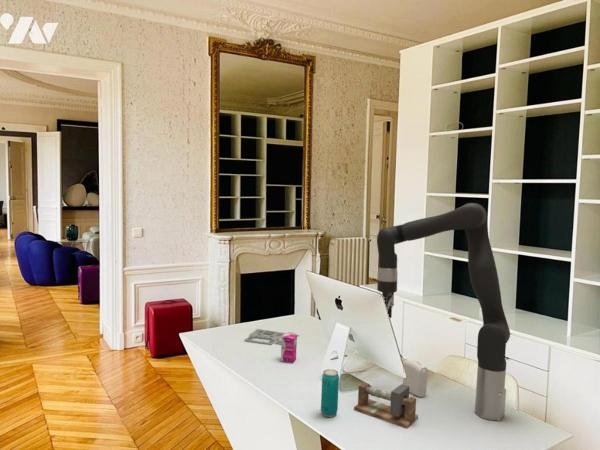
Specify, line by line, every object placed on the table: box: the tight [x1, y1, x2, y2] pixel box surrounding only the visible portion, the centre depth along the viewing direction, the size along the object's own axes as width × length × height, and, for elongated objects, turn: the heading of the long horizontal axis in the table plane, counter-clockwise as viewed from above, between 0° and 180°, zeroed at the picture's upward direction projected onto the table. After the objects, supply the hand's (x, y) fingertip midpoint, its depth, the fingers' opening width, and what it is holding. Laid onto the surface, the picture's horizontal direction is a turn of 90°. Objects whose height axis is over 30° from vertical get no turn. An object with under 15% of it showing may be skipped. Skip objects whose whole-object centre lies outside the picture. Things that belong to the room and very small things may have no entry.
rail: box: [353, 382, 419, 429], centre depth 172 cm, size 20×9×8 cm, turn 53°
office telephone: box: [244, 328, 300, 346], centre depth 251 cm, size 23×3×20 cm
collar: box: [389, 383, 410, 417], centre depth 169 cm, size 3×8×8 cm, turn 143°
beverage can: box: [320, 368, 340, 418], centre depth 170 cm, size 6×6×15 cm
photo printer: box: [402, 358, 428, 398], centre depth 191 cm, size 10×4×12 cm, turn 29°
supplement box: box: [280, 334, 298, 364], centre depth 220 cm, size 6×6×12 cm
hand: (386, 320), depth 192 cm, fingers open, 8 cm apart
